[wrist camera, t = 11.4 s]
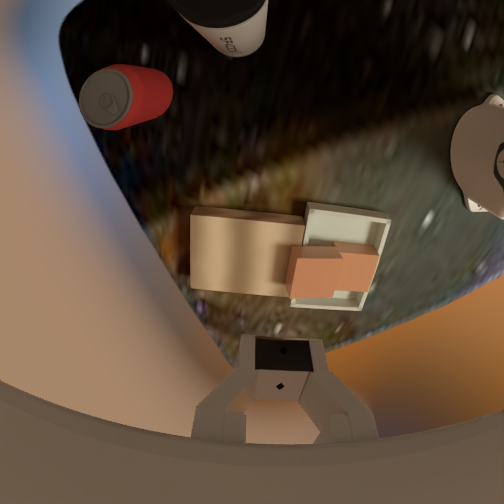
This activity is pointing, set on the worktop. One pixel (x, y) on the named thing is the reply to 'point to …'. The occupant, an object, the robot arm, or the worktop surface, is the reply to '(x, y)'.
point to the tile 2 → (356, 266)
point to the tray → (341, 230)
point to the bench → (242, 250)
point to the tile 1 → (312, 271)
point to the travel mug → (227, 23)
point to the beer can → (124, 96)
